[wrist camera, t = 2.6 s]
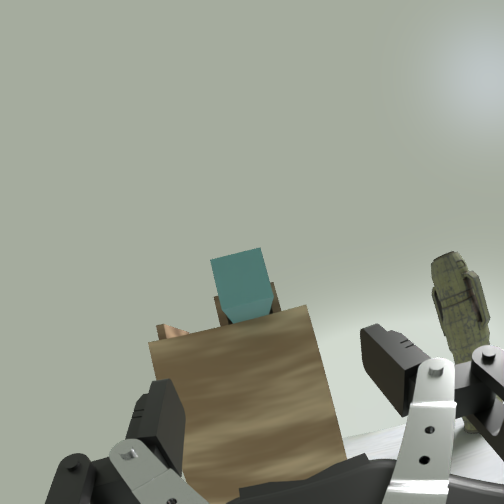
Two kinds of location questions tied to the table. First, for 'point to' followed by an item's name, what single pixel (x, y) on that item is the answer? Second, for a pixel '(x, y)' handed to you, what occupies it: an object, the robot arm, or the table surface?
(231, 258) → the block
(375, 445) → the table surface
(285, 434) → the stand
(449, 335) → the stone statue
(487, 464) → the table surface
